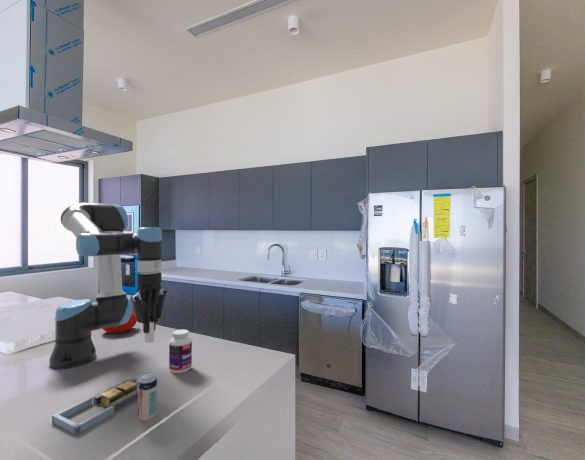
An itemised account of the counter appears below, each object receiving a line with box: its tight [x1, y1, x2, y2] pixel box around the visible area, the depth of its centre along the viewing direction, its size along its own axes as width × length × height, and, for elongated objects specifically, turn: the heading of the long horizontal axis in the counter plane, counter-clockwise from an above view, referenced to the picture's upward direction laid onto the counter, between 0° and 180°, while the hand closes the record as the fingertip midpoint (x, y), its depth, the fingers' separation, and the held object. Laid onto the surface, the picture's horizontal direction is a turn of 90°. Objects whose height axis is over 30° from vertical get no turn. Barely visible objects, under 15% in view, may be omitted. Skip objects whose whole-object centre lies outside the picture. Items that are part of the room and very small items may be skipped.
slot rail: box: [92, 377, 138, 413], centre depth 94 cm, size 10×13×2 cm
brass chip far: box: [117, 381, 138, 397], centre depth 95 cm, size 4×4×3 cm
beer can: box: [137, 371, 158, 422], centre depth 85 cm, size 5×5×12 cm
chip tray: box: [51, 396, 115, 436], centre depth 83 cm, size 11×10×2 cm
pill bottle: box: [168, 329, 193, 374], centre depth 113 cm, size 8×8×14 cm
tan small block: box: [101, 388, 122, 407], centre depth 91 cm, size 4×4×3 cm
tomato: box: [102, 311, 138, 334], centre depth 154 cm, size 14×16×10 cm
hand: (149, 341), depth 102 cm, fingers closed
